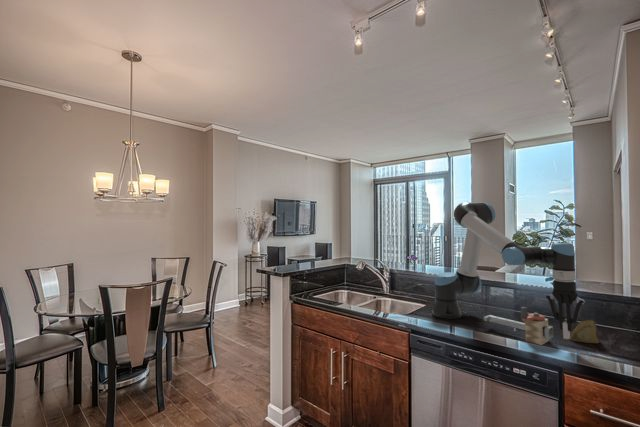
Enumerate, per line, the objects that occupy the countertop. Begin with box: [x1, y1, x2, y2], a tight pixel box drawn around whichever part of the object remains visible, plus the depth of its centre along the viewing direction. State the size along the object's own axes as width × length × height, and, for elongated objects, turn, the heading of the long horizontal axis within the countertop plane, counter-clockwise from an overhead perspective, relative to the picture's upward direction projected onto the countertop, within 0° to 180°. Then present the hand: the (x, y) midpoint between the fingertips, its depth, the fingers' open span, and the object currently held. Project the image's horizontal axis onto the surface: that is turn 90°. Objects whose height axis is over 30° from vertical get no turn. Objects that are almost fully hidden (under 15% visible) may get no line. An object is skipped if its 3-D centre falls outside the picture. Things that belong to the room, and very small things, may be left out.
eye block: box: [524, 318, 550, 346], centre depth 137 cm, size 6×8×10 cm
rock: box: [568, 319, 600, 344], centre depth 137 cm, size 11×9×10 cm
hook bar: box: [483, 314, 555, 340], centre depth 144 cm, size 27×6×4 cm, turn 35°
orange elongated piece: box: [520, 306, 546, 322], centre depth 136 cm, size 12×6×6 cm, turn 113°
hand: (566, 338), depth 128 cm, fingers closed
